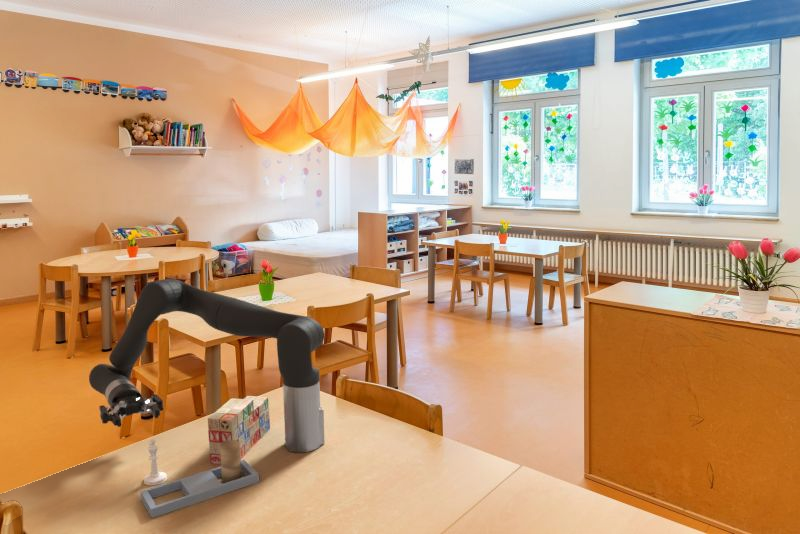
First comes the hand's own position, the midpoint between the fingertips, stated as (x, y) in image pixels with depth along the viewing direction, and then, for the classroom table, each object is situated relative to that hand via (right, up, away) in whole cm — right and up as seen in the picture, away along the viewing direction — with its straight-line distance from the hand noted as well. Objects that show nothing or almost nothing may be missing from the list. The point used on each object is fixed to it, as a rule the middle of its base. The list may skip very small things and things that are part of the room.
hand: (138, 418), depth 146 cm
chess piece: (+7, -13, -7) cm, 16 cm away
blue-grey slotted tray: (+19, -13, -12) cm, 26 cm away
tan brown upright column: (+25, -12, -7) cm, 29 cm away
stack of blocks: (+23, -10, +10) cm, 26 cm away
